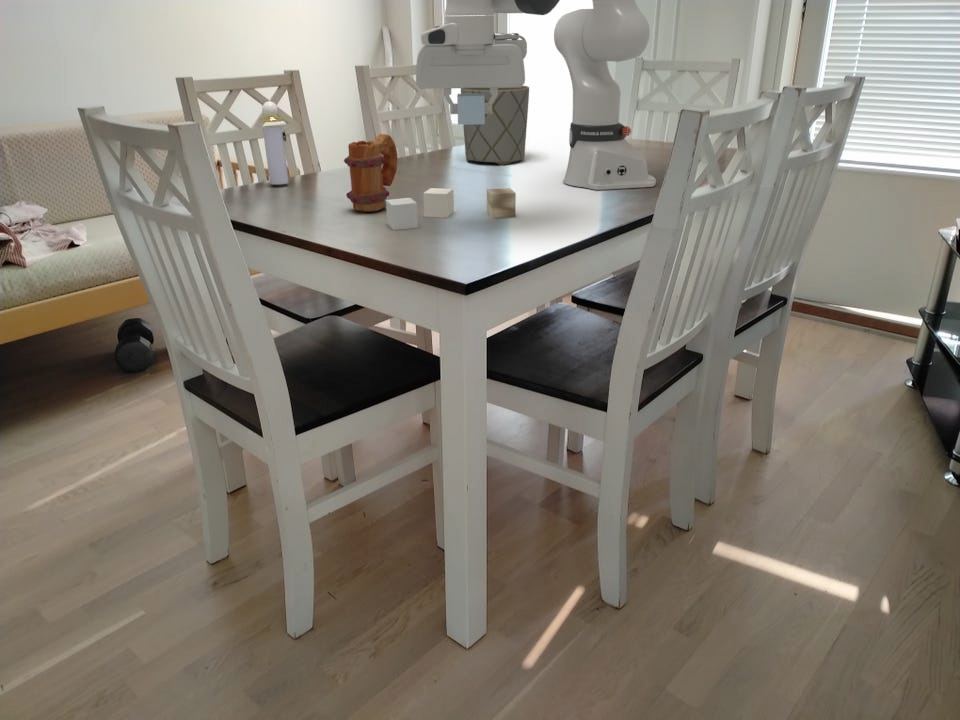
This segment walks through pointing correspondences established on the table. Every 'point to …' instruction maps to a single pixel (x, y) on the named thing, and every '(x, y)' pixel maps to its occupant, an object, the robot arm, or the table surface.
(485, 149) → the planter
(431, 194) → the cream cube
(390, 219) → the grey cube
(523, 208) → the table surface
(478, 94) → the pale blue cube
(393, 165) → the mug
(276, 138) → the perfume bottle
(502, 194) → the birch cube
